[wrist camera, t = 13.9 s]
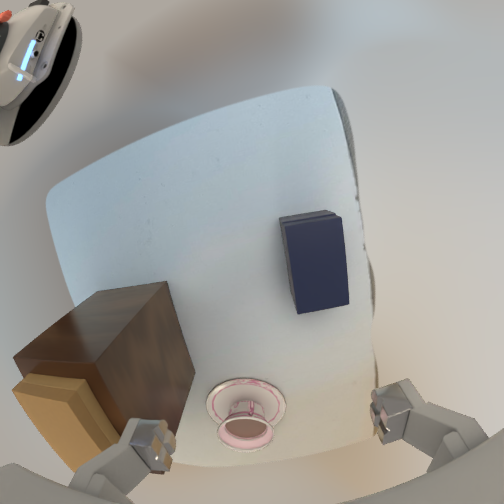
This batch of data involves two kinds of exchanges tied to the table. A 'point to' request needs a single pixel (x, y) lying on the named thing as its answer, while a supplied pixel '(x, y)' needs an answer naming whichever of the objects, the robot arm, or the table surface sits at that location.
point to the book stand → (120, 354)
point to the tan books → (66, 416)
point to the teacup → (245, 413)
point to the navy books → (299, 218)
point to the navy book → (317, 263)
